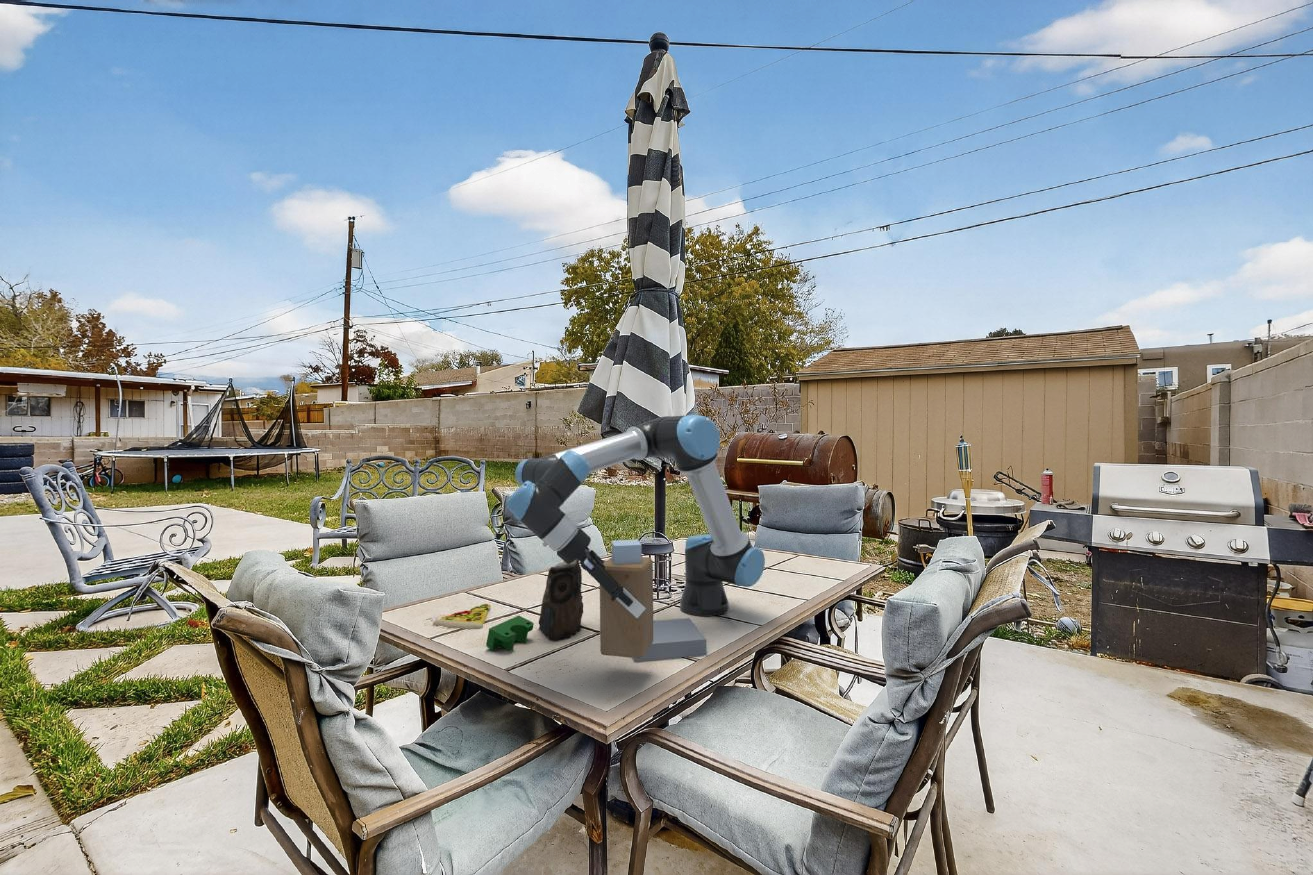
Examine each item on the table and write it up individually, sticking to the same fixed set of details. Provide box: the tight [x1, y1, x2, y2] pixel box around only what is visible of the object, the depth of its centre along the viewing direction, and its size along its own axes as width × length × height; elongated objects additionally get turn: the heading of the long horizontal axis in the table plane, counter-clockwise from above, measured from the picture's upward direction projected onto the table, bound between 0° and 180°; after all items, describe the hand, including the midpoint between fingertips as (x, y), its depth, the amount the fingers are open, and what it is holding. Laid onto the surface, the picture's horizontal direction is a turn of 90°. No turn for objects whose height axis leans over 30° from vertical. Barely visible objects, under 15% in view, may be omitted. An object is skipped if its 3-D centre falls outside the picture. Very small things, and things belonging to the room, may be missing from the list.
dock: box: [632, 617, 707, 663], centre depth 139 cm, size 18×16×4 cm
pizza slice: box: [432, 603, 491, 630], centre depth 163 cm, size 16×21×3 cm
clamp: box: [485, 615, 534, 651], centre depth 141 cm, size 12×6×9 cm, turn 148°
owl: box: [538, 559, 584, 642], centre depth 149 cm, size 13×13×20 cm
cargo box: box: [611, 539, 643, 564], centre depth 121 cm, size 6×6×4 cm
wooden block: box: [599, 556, 654, 659], centre depth 121 cm, size 10×10×20 cm
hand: (636, 603), depth 121 cm, fingers closed on wooden block, 12 cm apart
